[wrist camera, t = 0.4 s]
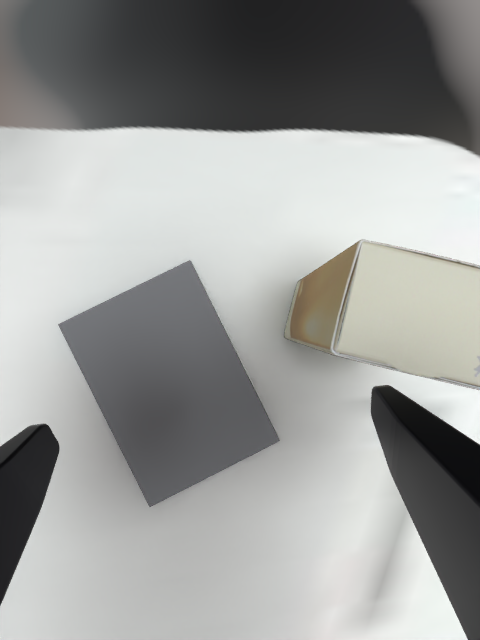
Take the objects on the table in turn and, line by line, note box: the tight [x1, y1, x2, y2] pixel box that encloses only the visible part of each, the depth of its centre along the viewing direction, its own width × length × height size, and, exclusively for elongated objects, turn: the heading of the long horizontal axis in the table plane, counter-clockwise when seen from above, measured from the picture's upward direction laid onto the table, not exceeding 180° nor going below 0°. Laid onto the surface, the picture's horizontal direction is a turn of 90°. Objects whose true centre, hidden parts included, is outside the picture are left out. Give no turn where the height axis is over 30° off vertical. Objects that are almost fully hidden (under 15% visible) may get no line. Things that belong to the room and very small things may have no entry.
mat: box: [58, 260, 280, 507], centre depth 23 cm, size 14×10×1 cm
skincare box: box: [284, 240, 480, 390], centre depth 18 cm, size 6×4×12 cm
